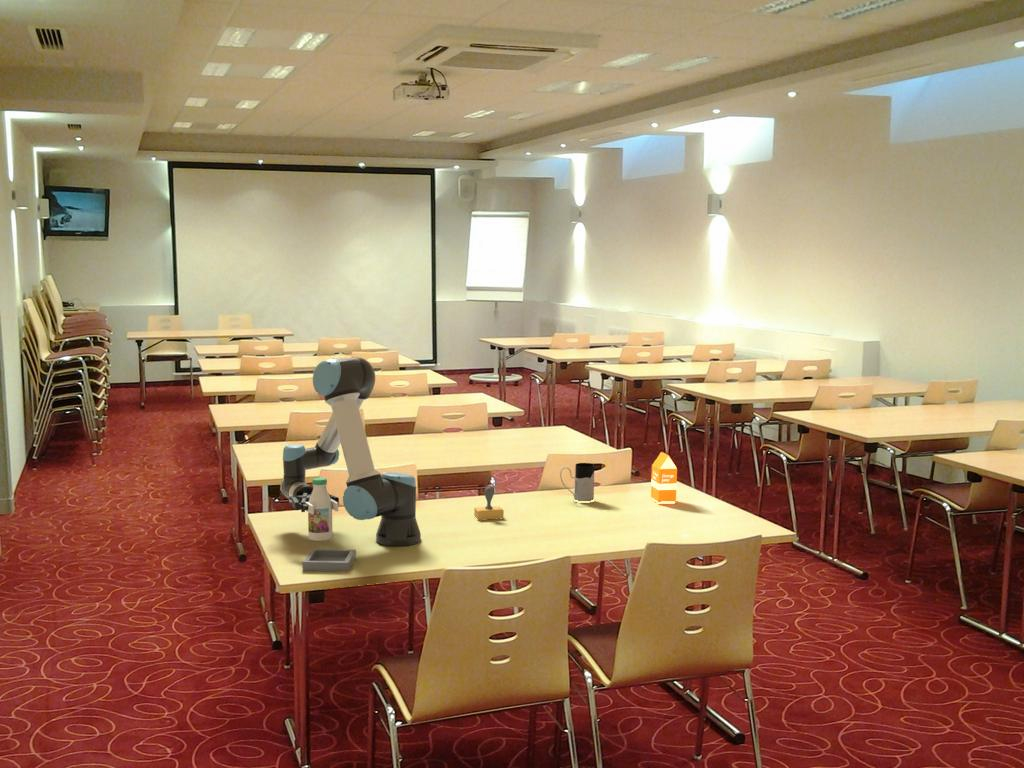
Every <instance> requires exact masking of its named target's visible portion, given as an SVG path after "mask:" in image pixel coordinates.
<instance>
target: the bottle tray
mask: <svg viewBox="0 0 1024 768" xmlns="http://www.w3.org/2000/svg"><path fill="white" fill-rule="evenodd" d="M356 558H357V550H356V549H353V548H352V549H349V548H345V549H344V548H343V549H342V548H341V549H339V548H311V550H310V551H309V552H308V554H307V555H306V557H305V558H304V559H303V561H302V562H301V563H302V565H301V566H302V568H301V569H302V571H303V570H304V571H303V572H337V571H350V570H351V568H352V567H353V564H354V563H353V562H355V561H356ZM349 569H350V570H349Z"/></svg>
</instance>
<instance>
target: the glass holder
mask: <svg viewBox="0 0 1024 768" xmlns="http://www.w3.org/2000/svg"><path fill="white" fill-rule="evenodd" d="M565 469H567V470H568V471H569V473H570V474H569V475H570V478H571V479H574V492H573V491H572V490H571V489H569V488H568V487H567V485H566V484H565V483H564V481H563V478H562V472H563V470H565ZM574 471H575V473H574V474H575V475H574V477H573V476H572V471H571V469H570V468H569V467H566V466H565V467H562V468H561V470H560V472H559V476H560V481H561V483H562V485H563V487H564V488H565V489H567V490H568V491H569V492H570V493H572V495H573V500H574V499H575V500H578V501H591V500H593V499H594V500H595V497H594V496H595V464H594V463H590V462H579V463H576V464H575V470H574Z"/></svg>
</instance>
